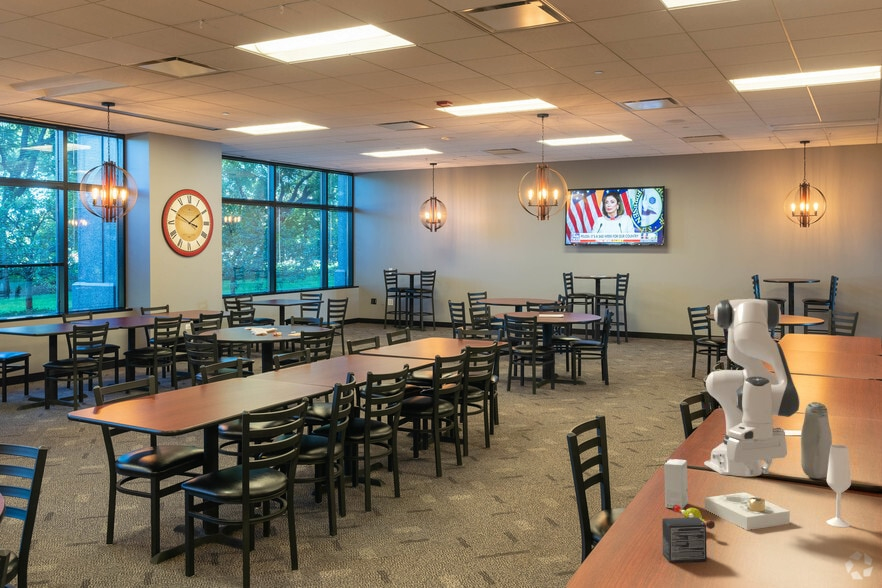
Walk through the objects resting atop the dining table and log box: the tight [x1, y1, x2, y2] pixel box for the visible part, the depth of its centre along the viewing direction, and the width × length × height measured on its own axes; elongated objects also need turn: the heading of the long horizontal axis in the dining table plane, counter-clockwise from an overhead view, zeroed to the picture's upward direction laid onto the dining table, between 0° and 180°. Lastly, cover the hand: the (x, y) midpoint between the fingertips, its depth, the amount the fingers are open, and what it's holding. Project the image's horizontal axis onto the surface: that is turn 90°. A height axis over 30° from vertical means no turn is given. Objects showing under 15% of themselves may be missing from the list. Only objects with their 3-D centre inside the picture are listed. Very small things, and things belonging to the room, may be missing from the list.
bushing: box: [750, 496, 766, 512], centre depth 239 cm, size 4×4×7 cm
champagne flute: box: [825, 444, 852, 528], centre depth 236 cm, size 7×7×24 cm
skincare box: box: [664, 458, 689, 510], centre depth 255 cm, size 8×6×15 cm
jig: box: [704, 492, 791, 531], centre depth 244 cm, size 20×16×4 cm
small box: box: [661, 517, 708, 564], centre depth 212 cm, size 11×6×10 cm, turn 92°
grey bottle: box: [800, 401, 833, 480], centre depth 283 cm, size 10×10×28 cm
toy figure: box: [671, 505, 716, 530], centre depth 233 cm, size 18×6×7 cm, turn 21°
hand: (757, 474), depth 238 cm, fingers open, 4 cm apart
